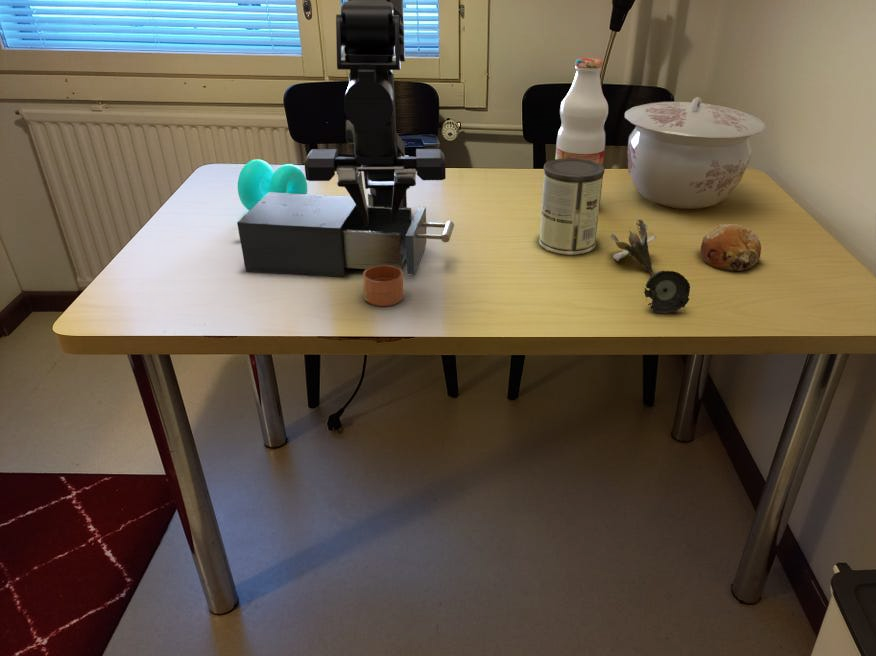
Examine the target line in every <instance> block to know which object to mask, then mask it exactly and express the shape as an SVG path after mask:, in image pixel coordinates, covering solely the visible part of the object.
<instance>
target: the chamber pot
mask: <svg viewBox="0 0 876 656" xmlns="http://www.w3.org/2000/svg"><path fill="white" fill-rule="evenodd" d="M702 101H703V100H702V98H701V97H700V96H696V97H693V99H692V101H657V102H650V103H646V104H640V105H636V106H633V107H631V108H629V109H627V110H625V112H624V119H625V120H626V121H628V122H629V123H630V124H632V125H633V126H635V127H634V129H633V130H632V131H631V133H630V134H629V135H628V141H627V147H626V148H627V150H626V153H627V167H628V168H627V170H628V173H629V176H630V178H631V181H632V183H633V185H634V187H635V190H636V191H637V193H639V194H640V195H641V196H642V198H644V199H646V200H648V201H650V202H652V203H655V204H657V205H659V206H663V207H666V208H672V209H678V210H697V209H703V208H704V209H705V208H709V207H713V206H715V205H718V204H720V203H721V202H723V201H724V200H725V199H726V198H727V197H728V196H729V195H730V194H731V192H732V191H733V190H734V189H735V188H736V187H737V186H738V185H739V183H740V182H741V181H742V179H743V176H744V174H745V172H746V170H747V168H748V166H749V164H750V161H751V160H750V159H751V156H752V152H753V148H752V145H751V142H750V139H749V137H750V138H751V137H753V136H755V135H758V134H760V133H762V132H763V131H764V130H765V128H766V127H767V126H766V125H765V123H764V122H763V121H762V119H760V118H759V117H757V116H755V115H752V114H750V113H748V112H746V111H743V110H740V109H737V108H734V107H729V106H723V105H718V104H713V103H706V102H702Z"/></svg>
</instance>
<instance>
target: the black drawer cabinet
mask: <svg viewBox="0 0 876 656" xmlns="http://www.w3.org/2000/svg"><path fill="white" fill-rule="evenodd" d="M356 208H357V206H356V204H355V202H354V200H353V199H352V197H351V196H350V195H349V196H347V195H345V196H344V195H332V194H331V195H329V194H327V195H326V194H309V193H307V194H292V193H272V192H268V193H267V194H266V195H265V196H264V197H263V198H262V199H261V200H260V201H259V202H258V203H257V204H256V205H255V206H254V207H253V208H252V209H251V210H250V211H249V210H248V212H247V213H246V214H245V215H244V216H243V217H242V218H240V219H239V220H238V221H237V223H236V224H237V229H238V236H239V241H240V242H239V243H240V247H241V252H242V258H243V264H244V268H245V272H251V273H265V274H266V273H268V274H282V275H283V274H284V275H285V274H286V275H299V276H301V275H302V276H318V277H334V278H335V277H337V278H345V277H346V276H347V274H348V272H349V270H350V269H351V268H345V263H344V252H343V241H342V229H343V228H344V226H345V225H346V223H347V222H348V220H349V219H350V217H351V216H352V214H353V213H354V211H355V210H356Z"/></svg>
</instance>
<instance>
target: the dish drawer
mask: <svg viewBox="0 0 876 656" xmlns="http://www.w3.org/2000/svg"><path fill="white" fill-rule="evenodd" d="M391 208H392V207H386V206H369V205H367V209H368V219H369V224H368V225H365V223H364V221H363V219H362V216H361V214H360V212H359V210H358V208H356V210H355V211H354V213H353V214H352V216H351V217H350V219H349V220H348V222H347V223H346V225H345V226H344V228H343V229H342V241H343V252H344V263H345V268H350V269H360V270H366V269H368V268H370V267H372V266H377V265H391V266H395V267H398V268H400V269H401V270H402V267H403V265H404V263H405V261H406V274H407V275H408V276H409V275H410V276H414V275H416V272H417V269H418V266H419V264H420V261H421V258H422V256H423V253H424V250H425V249H426V245H427V242H428V241H427V239H428V240H441V241H442V242H443V243H449V242H450V241H451V237H452V234H453V231H454V227H455V224H454V222H453V221H452V220H447V221H446V222H427V207H426V206H425V205H418V207H417V210H416V212H415V214H414V216H413V218H412V215H413V214H412V211H413V210H412V207H407V208H405V207H399V211H398V214H397V217H396V221H395V224H394V225H392V224H391ZM427 228H442V229H443V231H442V234H432V233H427Z"/></svg>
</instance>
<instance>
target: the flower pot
mask: <svg viewBox="0 0 876 656" xmlns="http://www.w3.org/2000/svg"><path fill="white" fill-rule="evenodd" d="M404 284H405V283H404V271H403V270H402V268H401V269H400V268H398V267H395V266H391V265H377V266H372V267H370V268H368V269H364V271H363V272H362V286H363V298H364V300H365V301H366V302H368V303H369V304H371V305H373V306H377V307H390V306H394V305H397V304H398V303H399V302H401V301H403V299H404V297H405V288H404V287H405V286H404Z"/></svg>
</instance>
